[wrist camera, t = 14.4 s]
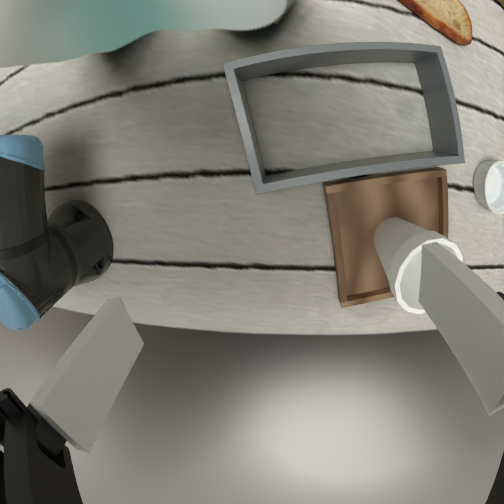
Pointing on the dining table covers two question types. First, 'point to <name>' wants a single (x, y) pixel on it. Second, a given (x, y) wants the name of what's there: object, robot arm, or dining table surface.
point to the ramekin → (490, 185)
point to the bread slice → (444, 17)
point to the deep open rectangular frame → (423, 56)
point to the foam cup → (406, 257)
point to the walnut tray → (371, 215)
